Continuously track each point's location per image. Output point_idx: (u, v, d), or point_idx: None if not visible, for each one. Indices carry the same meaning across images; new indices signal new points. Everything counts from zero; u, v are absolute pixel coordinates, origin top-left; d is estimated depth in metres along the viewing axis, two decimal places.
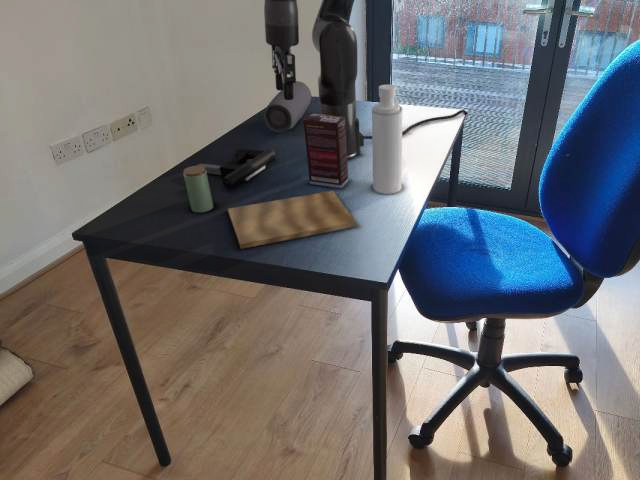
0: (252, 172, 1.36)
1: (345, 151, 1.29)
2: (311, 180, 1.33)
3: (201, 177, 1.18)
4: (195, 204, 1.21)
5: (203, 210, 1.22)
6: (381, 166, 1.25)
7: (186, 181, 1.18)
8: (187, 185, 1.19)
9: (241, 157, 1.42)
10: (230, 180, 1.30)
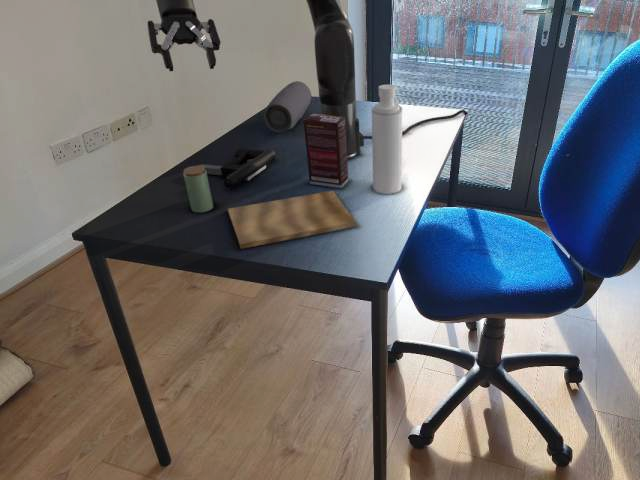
0: (253, 172, 1.36)
1: (345, 151, 1.29)
2: (311, 181, 1.33)
3: (201, 177, 1.18)
4: (195, 204, 1.21)
5: (203, 210, 1.22)
6: (381, 166, 1.25)
7: (186, 181, 1.18)
8: (187, 185, 1.19)
9: (241, 157, 1.42)
10: (232, 180, 1.30)
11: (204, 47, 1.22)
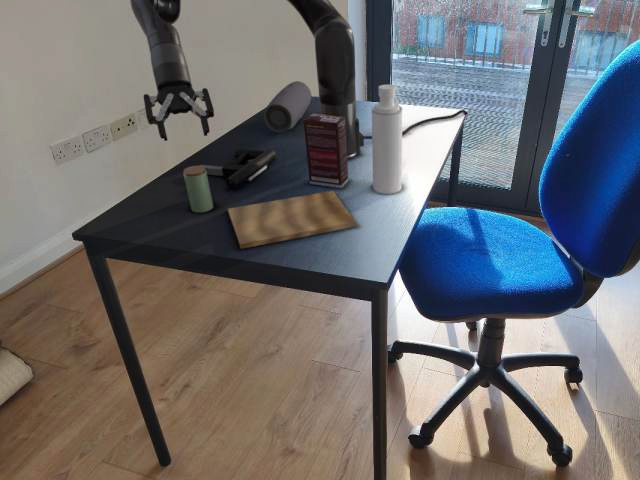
0: (254, 172, 1.36)
1: (345, 151, 1.29)
2: (311, 181, 1.33)
3: (201, 177, 1.18)
4: (195, 204, 1.21)
5: (203, 210, 1.22)
6: (381, 166, 1.25)
7: (186, 181, 1.18)
8: (187, 185, 1.19)
9: (241, 157, 1.42)
10: (234, 180, 1.29)
11: (199, 115, 1.26)
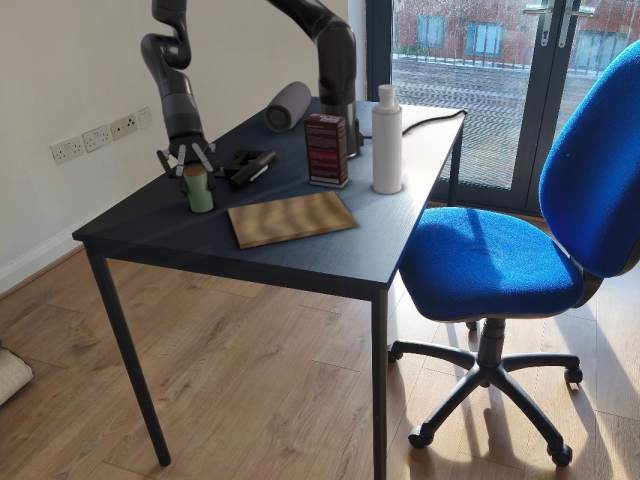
0: (256, 172, 1.36)
1: (345, 151, 1.29)
2: (311, 181, 1.33)
3: (201, 177, 1.18)
4: (195, 204, 1.21)
5: (203, 210, 1.22)
6: (381, 166, 1.25)
7: (186, 181, 1.18)
8: (187, 185, 1.19)
9: (242, 158, 1.42)
10: (236, 181, 1.29)
11: None
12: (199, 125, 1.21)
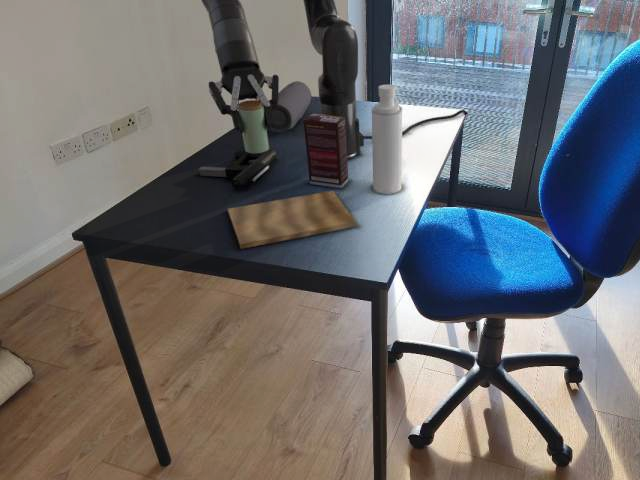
0: (258, 172, 1.36)
1: (345, 151, 1.29)
2: (311, 181, 1.33)
3: (258, 112, 1.06)
4: (251, 143, 1.08)
5: (259, 151, 1.10)
6: (381, 166, 1.25)
7: (241, 116, 1.06)
8: (242, 121, 1.06)
9: (243, 158, 1.41)
10: (240, 181, 1.29)
11: None
12: (255, 55, 1.08)
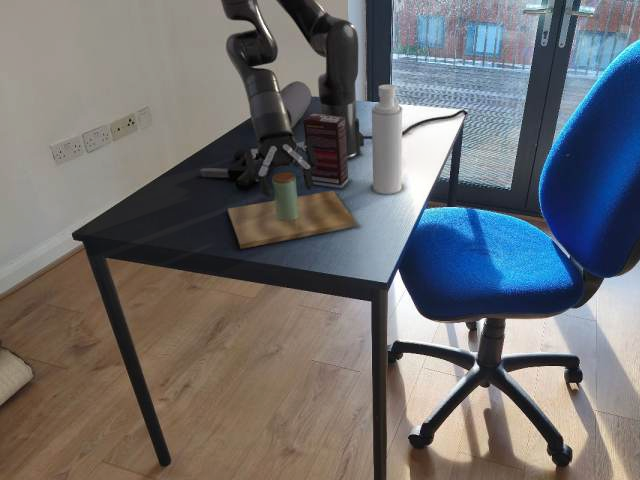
0: None
1: (345, 151, 1.29)
2: None
3: (291, 184, 1.12)
4: (283, 212, 1.15)
5: (290, 218, 1.16)
6: (381, 166, 1.25)
7: (275, 188, 1.13)
8: (276, 192, 1.13)
9: (243, 159, 1.41)
10: (244, 181, 1.29)
11: (301, 168, 1.16)
12: (289, 125, 1.15)
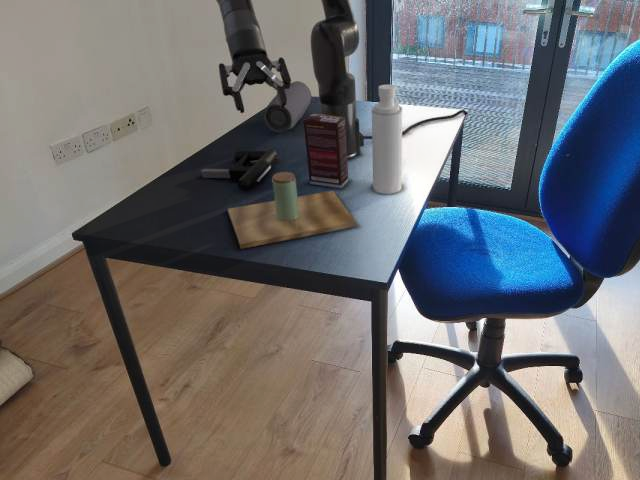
0: (262, 173, 1.36)
1: (345, 151, 1.29)
2: (311, 181, 1.33)
3: (291, 184, 1.12)
4: (283, 212, 1.15)
5: (290, 218, 1.16)
6: (381, 166, 1.25)
7: (275, 188, 1.13)
8: (276, 192, 1.13)
9: (244, 159, 1.41)
10: (246, 182, 1.29)
11: (275, 86, 1.19)
12: (263, 43, 1.17)
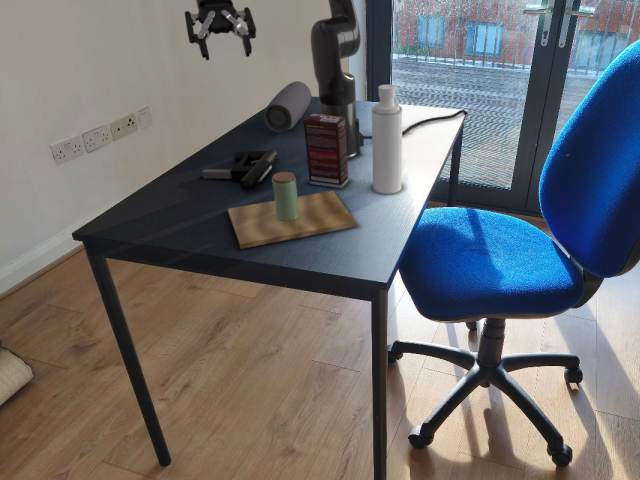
0: (263, 173, 1.36)
1: (345, 151, 1.29)
2: (311, 181, 1.33)
3: (291, 184, 1.12)
4: (283, 212, 1.15)
5: (290, 218, 1.16)
6: (381, 166, 1.25)
7: (275, 188, 1.13)
8: (276, 192, 1.13)
9: (244, 159, 1.41)
10: (249, 182, 1.29)
11: (240, 35, 1.21)
12: None
